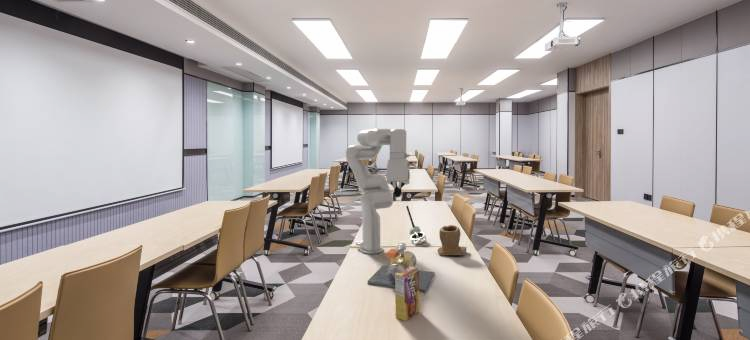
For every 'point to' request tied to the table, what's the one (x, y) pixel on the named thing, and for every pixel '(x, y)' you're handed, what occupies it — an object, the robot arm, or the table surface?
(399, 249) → the valve lever
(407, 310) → the candy box
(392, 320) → the table surface
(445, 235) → the stone cup
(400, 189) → the robot arm
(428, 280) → the valve body
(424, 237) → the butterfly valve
